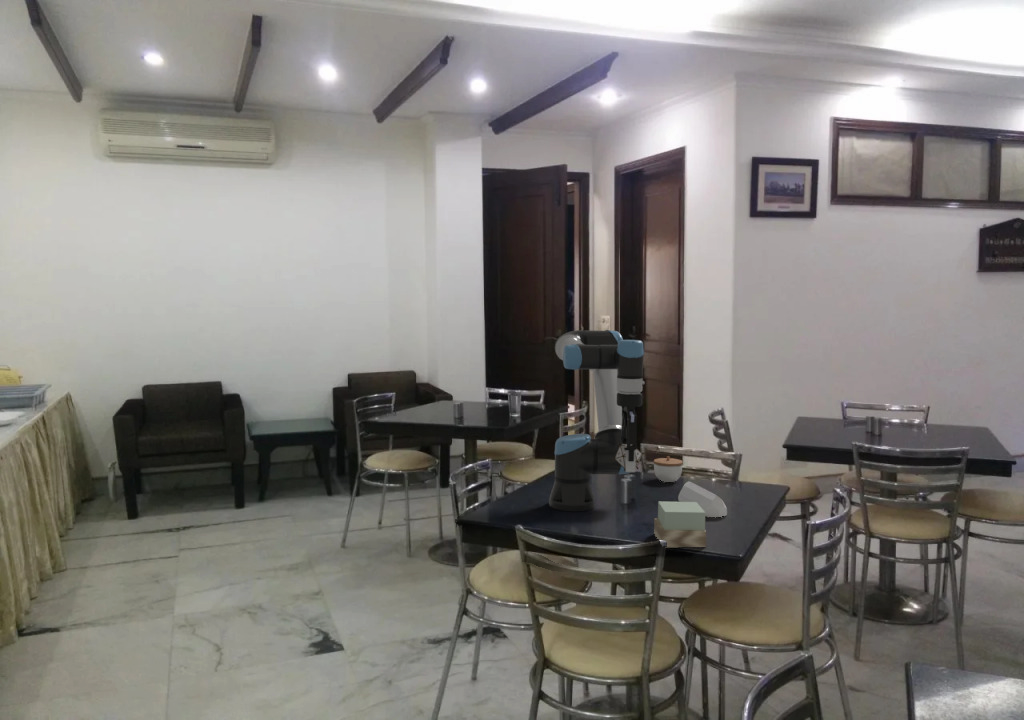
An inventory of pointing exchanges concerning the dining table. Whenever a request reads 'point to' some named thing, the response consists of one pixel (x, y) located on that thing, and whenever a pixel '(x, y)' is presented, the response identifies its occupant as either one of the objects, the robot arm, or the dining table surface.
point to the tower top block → (681, 515)
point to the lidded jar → (667, 469)
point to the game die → (621, 456)
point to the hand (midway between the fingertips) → (628, 468)
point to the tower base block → (680, 536)
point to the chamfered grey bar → (703, 500)
